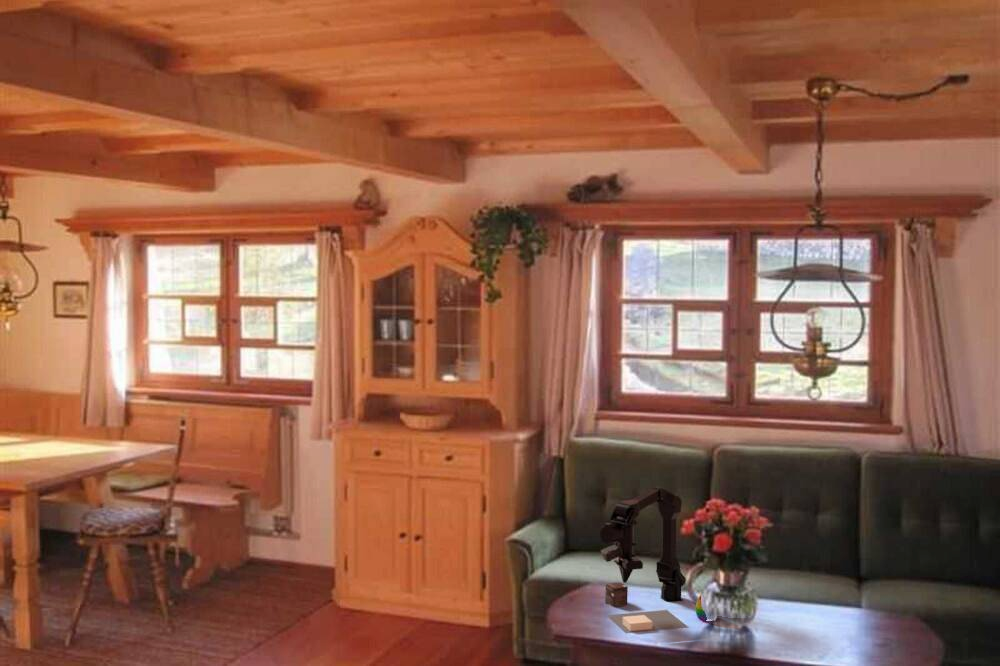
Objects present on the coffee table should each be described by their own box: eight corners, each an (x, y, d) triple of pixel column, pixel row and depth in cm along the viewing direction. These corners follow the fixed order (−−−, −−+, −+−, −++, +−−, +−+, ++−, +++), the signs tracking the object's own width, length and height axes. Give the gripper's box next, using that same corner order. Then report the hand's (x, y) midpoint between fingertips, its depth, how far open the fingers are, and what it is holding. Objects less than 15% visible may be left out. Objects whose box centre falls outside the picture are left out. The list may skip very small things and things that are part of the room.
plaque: (644, 614, 333) (652, 621, 326) (644, 622, 333) (652, 629, 326) (622, 616, 331) (630, 623, 324) (622, 624, 331) (630, 631, 324)
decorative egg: (697, 614, 342) (697, 587, 342) (720, 617, 340) (721, 589, 339) (694, 622, 335) (694, 594, 334) (717, 625, 332) (718, 596, 331)
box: (604, 603, 355) (605, 583, 354) (618, 601, 357) (619, 581, 357) (613, 608, 349) (613, 588, 349) (627, 606, 352) (628, 586, 351)
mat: (666, 610, 346) (666, 609, 346) (688, 628, 329) (688, 627, 329) (606, 616, 341) (606, 615, 341) (625, 634, 323) (625, 633, 323)
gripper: (594, 533, 346) (593, 576, 346) (613, 546, 328) (612, 592, 328) (623, 531, 348) (623, 574, 349) (643, 544, 330) (643, 589, 331)
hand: (624, 582), depth 339 cm, fingers closed
